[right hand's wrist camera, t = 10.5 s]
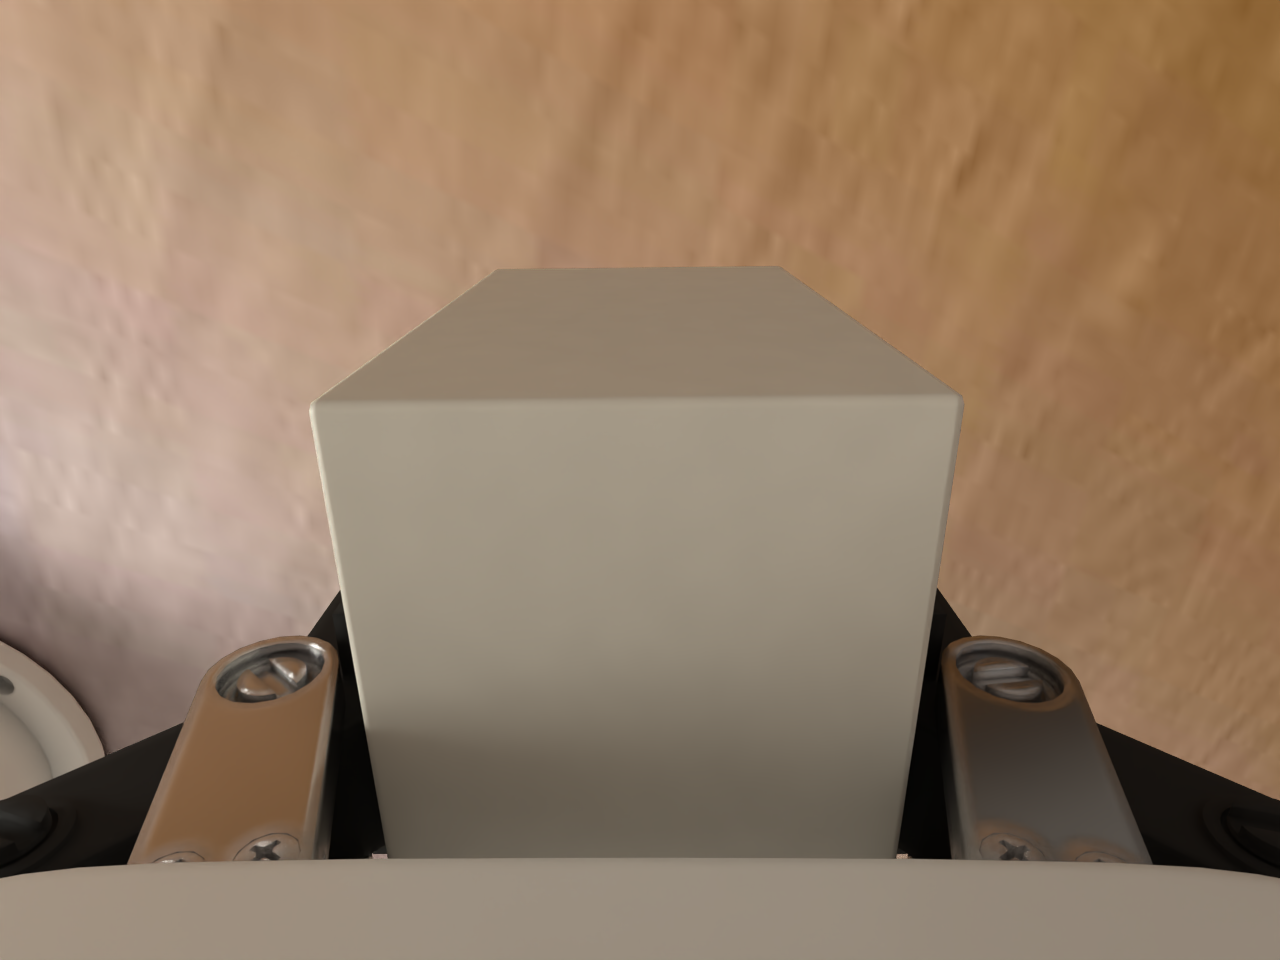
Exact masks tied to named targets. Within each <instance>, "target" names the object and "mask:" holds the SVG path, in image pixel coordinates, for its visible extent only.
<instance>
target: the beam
mask: <svg viewBox="0 0 1280 960" xmlns="http://www.w3.org/2000/svg"><path fill="white" fill-rule="evenodd" d="M963 410H964V401H963V398H962V395H960V394H959V393H957V392H956V391H955V390H953V389H952V388H950V387H949V386H948V385H946V384H945V383H943V382H942V381H941V380H939V379H938V378H936V377H935V376H933V375H932V374H931V373H929V372H928V371H926V370H925V369H924V368H922V367H921V366H919V365H918V364H917V363H915V362H914V361H912V360H911V359H909V358H908V357H907V356H905V355H904V354H902V353H901V352H900V351H898V350H897V349H895V348H894V347H893V346H891V345H890V344H888V343H887V342H886V341H884V340H883V339H881V338H880V337H878V336H877V335H876V334H874V333H873V332H871V331H870V330H869V329H867V328H866V327H864V326H863V325H862V324H860V323H859V322H857V321H856V320H855V319H853V318H852V317H850V316H849V315H847V314H846V313H845V312H843V311H842V310H840V309H839V308H838V307H836V306H835V305H833V304H832V303H831V302H829V301H828V300H826V299H825V298H823V297H822V296H821V295H819V294H818V293H816V292H815V291H814V290H812V289H811V288H809V287H808V286H807V285H805V284H804V283H802V282H801V281H800V280H798V279H797V278H795V277H794V276H792V275H791V274H790V273H788V272H787V271H785V270H784V269H783V268H781V267H779V266H741V267H652V268H564V269H497V270H495V271H494V272H492V273H491V274H489V275H488V276H487V277H485V278H484V279H482V280H481V281H480V282H478V283H477V284H475V285H474V286H473V287H471V288H470V289H468V290H467V291H466V292H464V293H463V294H462V295H460V296H459V297H457V298H456V299H455V300H453V301H452V302H450V303H449V304H448V305H446V306H445V307H443V308H442V309H441V310H439V311H438V312H437V313H435V314H434V315H432V316H431V317H430V318H428V319H427V320H425V321H424V322H423V323H421V324H420V325H418V326H417V327H416V328H414V329H413V330H412V331H410V332H409V333H407V334H406V335H405V336H403V337H402V338H400V339H399V340H398V341H396V342H395V343H393V344H392V345H391V346H389V347H388V348H387V349H385V350H384V351H382V352H381V353H380V354H378V355H377V356H375V357H374V358H373V359H371V360H370V361H368V362H367V363H366V364H364V365H363V366H361V367H360V368H359V369H357V370H356V371H355V372H353V373H352V374H350V375H349V376H348V377H346V378H345V379H343V380H342V381H341V382H339V383H338V384H336V385H335V386H334V387H332V388H331V389H330V390H328V391H327V392H325V393H324V394H323V395H321V396H320V397H318V398H317V399H316V400H314V401H313V402H311V405H310V409H309V415H310V421H311V426H312V432H313V438H314V443H315V449H316V454H317V460H318V466H319V471H320V477H321V483H322V488H323V494H324V500H325V505H326V511H327V517H328V522H329V528H330V534H331V539H332V545H333V551H334V556H335V562H336V568H337V573H338V579H339V584H340V590H341V596H342V601H343V607H344V613H345V618H346V624H347V630H348V635H349V641H350V647H351V652H352V658H353V664H354V669H355V675H356V681H357V686H358V692H359V698H360V703H361V709H362V714H363V720H364V726H365V731H366V737H367V743H368V748H369V754H370V760H371V765H372V771H373V777H374V782H375V788H376V794H377V799H378V805H379V811H380V816H381V822H382V828H383V833H384V839H385V845H386V850H387V856H388V859H442V858H838V859H896V856H897V849H898V842H899V836H900V829H901V822H902V816H903V809H904V802H905V796H906V789H907V782H908V776H909V769H910V762H911V756H912V749H913V743H914V736H915V729H916V723H917V716H918V709H919V703H920V696H921V689H922V683H923V676H924V669H925V663H926V656H927V649H928V643H929V636H930V629H931V623H932V616H933V610H934V603H935V596H936V590H937V583H938V576H939V570H940V563H941V556H942V550H943V543H944V536H945V530H946V523H947V516H948V510H949V503H950V496H951V490H952V483H953V477H954V470H955V463H956V457H957V450H958V443H959V437H960V430H961V423H962V417H963Z"/></svg>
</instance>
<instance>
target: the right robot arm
mask: <svg viewBox="0 0 1280 960" xmlns="http://www.w3.org/2000/svg"><path fill="white" fill-rule="evenodd" d="M372 853H373V854H387V850H386V845H385V839H384V833H383V828H382V822H381V816H380V811H379V805H378V799H377V794H376V788H375V782H374V777H373V771H372V765H371V760H370V754H369V748H368V743H367V737H366V731H365V726H364V720H363V714H362V709H361V703H360V698H359V692H358V686H357V681H356V675H355V669H354V664H353V658H352V652H351V647H350V641H349V635H348V630H347V624H346V618H345V613H344V607H343V601H342V596H341V590H340V591H339V592H338V594H337V595H336V597H335V598H334V599H333V601H332V602H331V604H330V605H329V607H328V608H327V609H326V611H325V612H324V614H323V615H322V616H321V618H320V619H319V621H318V622H317V624H316V625H315V626H314V628H313V629H312V631H311V632H310V633H309V635H308V636H285V637H277V638H272V639H268V640H263V641H259V642H256V643H254V644H251V645H248V646H245V647H243V648H240V649H238V650H236V651H235V652H233V653H231V654H229V655H227V656H225V657H224V658H222V659H221V660H220V661H218V662H217V663H216V664H215V665H214V666H212V667H211V668H210V669H209V670H208V671H207V673H206V674H205V676H204V677H203V679H202V680H201V682H200V685H199V687H198V690H197V692H196V695H195V697H194V699H193V702H192V704H191V707H190V709H189V712H188V714H187V717H186V719H185V722H184V723H181V724H179V725H177V726H174V727H172V728H170V729H168V730H165V731H163V732H161V733H158V734H156V735H154V736H151V737H149V738H147V739H144V740H142V741H140V742H137V743H135V744H133V745H130V746H128V747H126V748H123V749H121V750H119V751H116V752H114V753H112V754H109V755H107V756H105V754H104V750H103V747H102V743H101V741H100V739H99V737H98V735H97V733H96V731H95V729H94V727H93V725H92V723H91V721H90V719H89V717H88V716H87V715H86V713H85V712H84V711H83V709H82V708H81V707H80V705H79V704H78V702H77V701H76V700H75V698H74V697H73V696H72V695H71V694H70V693H69V692H68V691H67V690H66V689H65V688H64V687H63V686H62V685H61V684H60V683H59V682H58V681H57V680H56V679H55V678H54V677H53V676H52V675H51V674H50V673H49V672H47V671H46V670H45V669H43V668H42V667H41V666H39V665H38V664H37V663H35V662H34V661H33V660H31V659H30V658H29V657H27V656H26V655H25V654H23V653H21V652H19V651H18V650H16V649H14V648H12V647H10V646H9V645H7V644H5V643H3V642H2V641H0V960H1280V801H1279V800H1276V799H1273V798H1270V797H1268V796H1266V795H1263V794H1261V793H1259V792H1256V791H1254V790H1252V789H1249V788H1247V787H1245V786H1242V785H1240V784H1238V783H1235V782H1233V781H1231V780H1228V779H1226V778H1224V777H1221V776H1219V775H1217V774H1214V773H1212V772H1210V771H1207V770H1205V769H1203V768H1200V767H1198V766H1196V765H1193V764H1191V763H1189V762H1186V761H1184V760H1182V759H1179V758H1177V757H1175V756H1172V755H1170V754H1168V753H1165V752H1163V751H1161V750H1158V749H1156V748H1154V747H1151V746H1149V745H1147V744H1144V743H1142V742H1140V741H1137V740H1135V739H1133V738H1130V737H1128V736H1126V735H1123V734H1121V733H1119V732H1116V731H1114V730H1112V729H1109V728H1107V727H1105V726H1102V725H1100V724H1098V723H1096V722H1095V719H1094V717H1093V714H1092V712H1091V709H1090V707H1089V704H1088V702H1087V699H1086V697H1085V695H1084V692H1083V690H1082V687H1081V685H1080V682H1079V680H1078V679H1077V677H1076V676H1075V674H1074V673H1073V671H1072V670H1071V669H1070V668H1069V667H1068V666H1066V665H1065V664H1064V663H1063V662H1062V661H1060V660H1059V659H1058V658H1056V657H1055V656H1053V655H1051V654H1049V653H1047V652H1045V651H1044V650H1042V649H1040V648H1037V647H1035V646H1032V645H1029V644H1026V643H1024V642H1021V641H1017V640H1012V639H1008V638H1003V637H995V636H973V637H972V636H971V635H970V633H969V632H968V631H967V629H966V628H965V626H964V625H963V623H962V622H961V621H960V619H959V618H958V616H957V615H956V614H955V612H954V611H953V609H952V608H951V607H950V605H949V604H948V602H947V601H946V599H945V598H944V597H943V595H942V594H941V592H940V591H939V590H938V588H937V590H936V596H935V603H934V610H933V616H932V623H931V629H930V636H929V643H928V649H927V656H926V663H925V669H924V676H923V683H922V689H921V696H920V703H919V709H918V716H917V723H916V729H915V736H914V743H913V749H912V756H911V762H910V769H909V776H908V782H907V789H906V796H905V802H904V809H903V816H902V822H901V829H900V836H899V842H898V849H897V854H906V853H907V854H908V858H907V859H838V858H442V859H373V858H372Z"/></svg>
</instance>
